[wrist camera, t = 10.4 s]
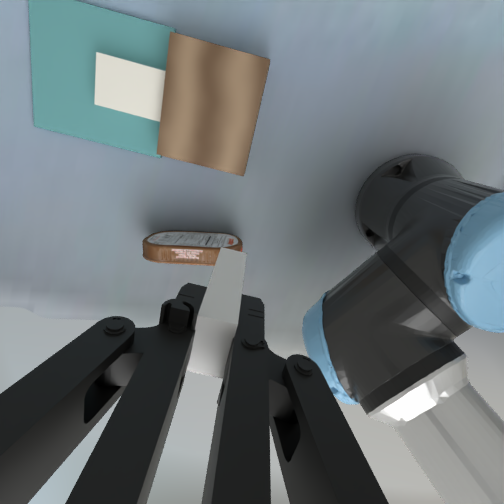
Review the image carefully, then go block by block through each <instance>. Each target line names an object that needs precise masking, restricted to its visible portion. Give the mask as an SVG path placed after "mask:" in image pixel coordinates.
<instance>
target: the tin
mask: <svg viewBox="0 0 504 504" xmlns="http://www.w3.org/2000/svg"><path fill="white" fill-rule="evenodd" d="M221 247H223V248H227V249H231V250H235V251H240V252H242V241H241V239H240V238H239V237H237V236H234V235H231V234H225V233H212V232H194V231H162V232H157V233H153V234H151V235H149V236H148V237H146V238H145V239H144V240H143V257H144V258H145V259H146V260H149V261H152V262H157V263H170V264H190V265H207V266H215V264H216V261H217V258H218V255H219V252H220V249H221Z"/></svg>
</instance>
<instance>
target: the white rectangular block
mask: <svg viewBox="0 0 504 504" xmlns="http://www.w3.org/2000/svg"><path fill="white" fill-rule="evenodd" d="M165 72H166V71H163V70H160V69H156V68H153V67H149V66H145V65H142V64H138V63H135V62H131V61H127V60H124V59H120V58H117V57H113V56H110V55H106V54H102V53H99V52H96V73H95V102H94V104H95V105H99V106H102V107H106V108H110V109H114V110H117V111H121V112H125V113H129V114H132V115H136V116H140V117H144V118H147V119H151V120H155V121H159V122H160V118H161V109H162V100H163V90H164V81H165Z"/></svg>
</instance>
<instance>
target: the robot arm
mask: <svg viewBox="0 0 504 504" xmlns="http://www.w3.org/2000/svg"><path fill="white" fill-rule="evenodd" d="M355 214H356V222H357V225H358V228H359V230H360V232H361V234H362V235H363V237H364V238H365V239H366V240H367V241H368V242H369V243H370V244H371V245H372V246H373V247H374V248H376V249H377V250H379V251H378V252H377V253H375V254H374V255H372V256H371V257H370V258H369V259H368V260H366V261H365V262H364V263H363V264H362V265H360V266H359V267H358V268H357V269H356V270H354V271H353V272H352V273H351V274H350V275H348V276H347V277H346V278H345V279H343V280H342V281H341V282H340V283H339V284H337V285H336V286H335V287H334V288H332V289H331V290H329V291H327V292H325V293H324V294H323V295H322V297H321V299H320V300H319V301H318V302H317V303H316V304H315V305H313V306H312V307H311V308H310V309H309V310H308V311H307V313H306V314H305V316H304V319H303V327H302V333H303V340H304V344H305V347H306V350H307V353H308V356H309V358H308V357H306V356H304V355H298V354H297V355H291V356H290V357H288V359H287V360H286V359H284V358H282V357H280V356H278V355H276V354H274V353H273V352H272V351H271V350H270V349H269V348H268V345H267V342H266V341H265V339H264V304H263V302H262V301H261V299H260V298H256V297H251V296H247V295H243V294H242V288H243V281H244V273H245V265H246V257H247V253H244V252H240V251H235V250H231V249H227V248H223V247H221V249H220V252H219V255H218V258H217V261H216V264H215V266H214V269H213V272H212V275H211V278H210V281H209V284H208V287H204V286H200V285H196V284H191V283H188V284H186V285H184V286H183V287H181V289H180V291H179V293H178V295H177V297H176V299H170V300H168V301H165V302H164V303H163V304H162V307H161V314H160V321H159V325H157V326H154V327H148V328H135V325H134V323H133V321H131V320H130V319H128V318H125V317H121V316H112V317H108V318H104V319H102V320H101V321H99V322H97V323H96V324H95V325H93V326H92V327H91V328H89V329H88V330H86V331H85V332H84V333H82V334H81V335H80V336H78V337H77V338H76V339H74V340H73V341H72V342H70V343H69V344H68V345H66V346H65V347H63V348H62V349H61V350H59V351H58V352H57V353H55V354H54V355H53V356H51V357H50V358H48V359H47V360H46V361H44V362H43V363H42V364H40V365H39V366H38V367H36V368H35V369H34V370H32V371H31V372H30V373H28V374H27V375H25V376H24V377H23V378H22V379H20V380H19V381H17V382H16V383H15V384H13V385H12V386H11V387H9V388H8V389H6V390H5V391H4V392H2V393H1V394H0V504H28V502H29V501H30V500H31V499H32V498H33V497H34V495H35V494H36V493H37V492H38V491H39V489H41V487H42V486H43V485H44V484H45V483H46V482H47V480H48V479H49V478H50V477H51V476H52V475H53V473H54V472H55V471H56V470H57V469H58V468H59V466H60V465H61V464H62V463H63V462H64V461H65V460H66V458H67V457H68V456H69V455H70V454H71V453H72V452H73V450H74V449H75V448H76V447H77V446H78V444H79V443H80V442H81V441H82V440H83V439H84V438H85V437H86V435H87V434H88V433H89V432H90V431H91V430H92V428H93V427H94V426H95V425H96V424H97V423H98V422H99V420H100V419H101V418H102V417H103V416H104V415H105V413H106V412H107V411H108V410H109V409H110V408H111V407H112V405H113V404H114V403H115V402H116V401H117V399H118V398H119V397H120V396H121V395H122V396H121V398H120V400H119V402H118V403H117V405H116V407H115V409H114V411H113V413H112V415H111V417H110V419H109V421H108V423H107V425H106V427H105V428H104V430H103V432H102V434H101V436H100V438H99V440H98V442H97V444H96V446H95V448H94V450H93V452H92V453H91V455H90V457H89V459H88V461H87V463H86V465H85V467H84V469H83V471H82V473H81V475H80V476H79V479H78V480H77V482H76V484H75V486H74V488H73V490H72V492H71V494H70V496H69V498H68V500H67V502H66V503H65V504H146V503H147V500H148V497H149V493H150V490H151V487H152V483H153V480H154V477H155V474H156V470H157V467H158V464H159V461H160V457H161V454H162V451H163V448H164V444H165V441H166V438H167V434H168V431H169V428H170V425H171V422H172V418H173V415H174V411H175V409H176V405H177V402H178V398H179V395H180V392H181V389H182V386H183V382H184V377H185V373H186V371H189V372H194V373H199V374H204V375H209V376H213V377H218V378H223V377H224V378H223V382H222V386H221V389H220V393H219V397H218V400H217V404H218V407H217V414H216V420H215V426H214V432H213V438H212V444H211V450H210V456H209V462H208V468H207V474H206V480H205V486H204V492H203V498H202V504H271V495H270V494H271V489H270V429H271V432H272V436H273V440H274V444H275V448H276V451H277V456H278V459H279V463H280V467H281V471H282V475H283V478H284V482H285V486H286V490H287V494H288V498H289V502H290V504H389V503H388V502H387V499H386V498H385V495H384V494H383V492H382V490H381V488H380V486H379V484H378V482H377V480H376V478H375V476H374V474H373V472H372V470H371V468H370V466H369V464H368V462H367V460H366V458H365V456H364V454H363V452H362V450H361V448H360V446H359V444H358V442H357V440H356V438H355V437H354V434H353V432H352V430H351V428H350V427H349V424H348V423H347V421H346V419H345V417H344V415H343V413H342V411H341V409H340V407H339V405H338V403H337V401H336V399H335V397H336V398H337V399H339V400H340V401H342V402H344V403H346V404H359V403H360V404H361V406H362V407H363V409H364V411H365V412H366V414H367V415H368V417H369V418H371V419H374V420H377V421H380V422H383V423H386V424H389V425H390V426H391V427H393V428H394V429H395V431H396V432H397V434H398V435H399V436H400V438H401V439H402V441H403V442H404V444H405V445H406V447H407V448H408V450H409V451H410V453H411V454H412V456H413V457H414V459H415V460H416V462H417V463H418V464H419V466H420V467H421V469H422V470H423V472H424V473H425V475H426V476H427V478H428V479H429V481H430V482H431V483H432V485H433V487H434V488H435V489H436V491H437V493H438V494H439V495H440V497H441V498H442V500H443V501H444V503H445V504H504V421H503V420H502V419H501V418H500V416H499V415H498V414H497V413H496V412H495V411H494V410H493V409H492V408H491V406H490V405H489V404H488V403H487V402H486V401H485V400H484V398H483V397H481V395H480V394H479V393H478V392H477V391H476V389H475V388H474V387H473V386H472V385H471V384H470V382H469V380H468V357H467V355H466V354H465V353H464V352H463V351H462V350H461V349H460V348H459V347H458V346H457V345H456V344H455V343H454V339H455V338H456V337H457V336H459V335H461V334H462V333H464V332H465V331H467V330H468V329H470V328H471V327H473V326H474V327H476V328H480V329H482V330H485V331H490V332H497V333H500V332H504V190H501V189H497V188H494V187H490V186H486V185H482V184H479V183H475V182H471V181H467V180H465V179H464V178H463V177H462V176H461V174H460V173H459V172H458V171H457V170H456V169H455V168H454V167H453V166H452V165H451V164H449V163H448V162H446V161H444V160H442V159H439V158H436V157H432V156H427V155H419V154H413V155H406V156H401V157H398V158H395V159H393V160H391V161H389V162H387V163H385V164H384V165H382V166H381V167H379V168H378V169H377V170H376V171H375V172H374V173H373V174H372V175H371V176H370V177H369V178H368V179H367V181H366V182H365V183H364V185H363V187H362V189H361V191H360V193H359V195H358V198H357V202H356V210H355ZM334 396H335V397H334ZM269 425H270V429H269Z"/></svg>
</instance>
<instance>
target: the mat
mask: <svg viewBox="0 0 504 504" xmlns="http://www.w3.org/2000/svg"><path fill="white" fill-rule="evenodd" d="M28 2H29V25H30V47H31V70H32V93H33V115H34V126H35V127H39V128H43V129H46V130H50V131H54V132H58V133H62V134H66V135H70V136H74V137H78V138H82V139H86V140H90V141H94V142H98V143H102V144H106V145H110V146H114V147H118V148H122V149H126V150H130V151H133V152H137V153H141V154H145V155H149V156H153V157H157V158H161V155H157V145H158V136H159V127H160V122H159V121H155V120H151V119H147V118H144V117H140V116H136V115H132V114H129V113H125V112H121V111H117V110H114V109H110V108H106V107H102V106H99V105H95V104H94V102H95V73H96V52H99V53H102V54H106V55H110V56H113V57H117V58H120V59H124V60H127V61H131V62H135V63H138V64H142V65H145V66H149V67H153V68H156V69H160V70H163V71H166V63H167V54H168V45H169V36H170V32H174V33H176V29H175V28H171V27H168V26H164V25H161V24H157V23H154V22H150V21H146V20H143V19H139V18H136V17H132V16H129V15H125V14H122V13H118V12H115V11H111V10H108V9H104V8H100V7H97V6H93V5H90V4H86V3H83V2H79V1H76V0H28Z"/></svg>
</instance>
